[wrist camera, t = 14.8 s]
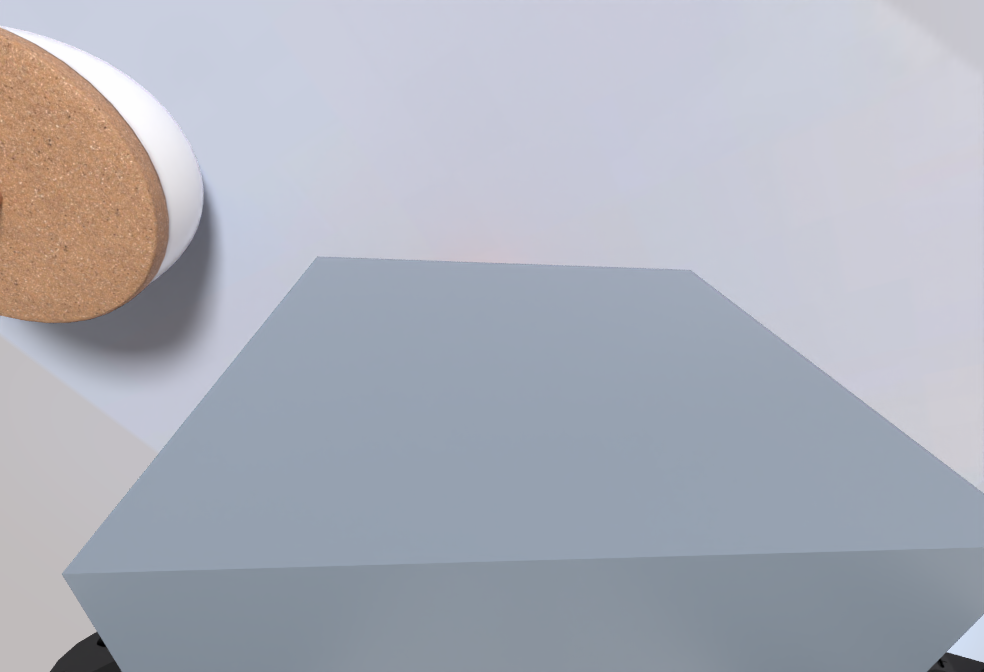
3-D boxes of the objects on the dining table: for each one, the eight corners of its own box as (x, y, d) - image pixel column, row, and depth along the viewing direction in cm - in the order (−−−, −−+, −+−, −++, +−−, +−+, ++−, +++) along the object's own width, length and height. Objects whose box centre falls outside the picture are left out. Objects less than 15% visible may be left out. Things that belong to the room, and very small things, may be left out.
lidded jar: (140, 295, 26) (-1, 389, 18) (-52, 119, 21) (-364, 139, 13) (284, 197, 24) (198, 252, 16) (107, -21, 19) (-145, -101, 11)
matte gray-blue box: (619, 518, 18) (748, 852, 10) (350, 523, 17) (262, 899, 9) (690, 270, 13) (1051, 545, 5) (317, 256, 12) (61, 573, 4)
